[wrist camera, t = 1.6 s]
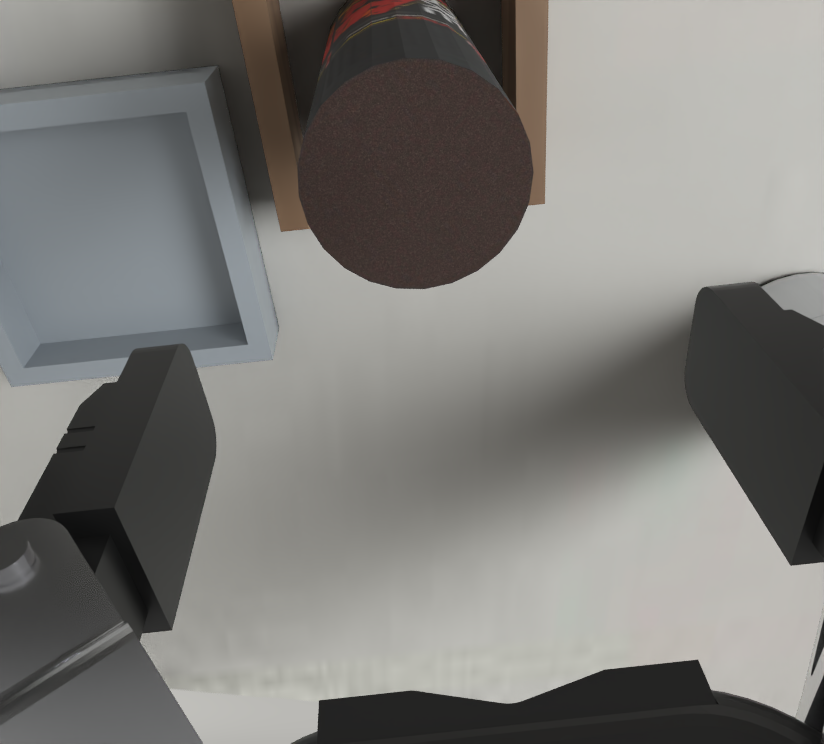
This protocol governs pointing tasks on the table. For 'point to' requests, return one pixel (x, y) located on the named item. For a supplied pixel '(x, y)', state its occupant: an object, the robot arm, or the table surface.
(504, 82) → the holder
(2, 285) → the tray
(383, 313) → the table surface
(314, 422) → the table surface
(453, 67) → the deodorant
